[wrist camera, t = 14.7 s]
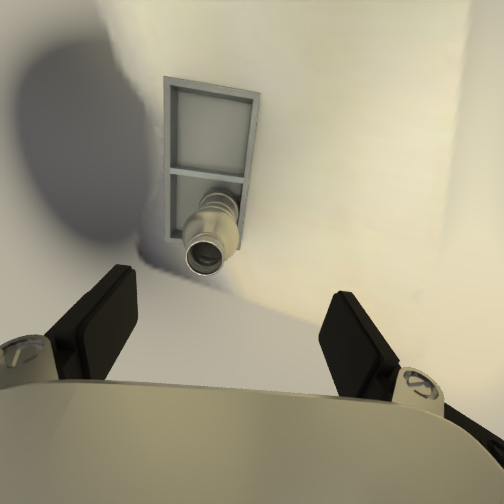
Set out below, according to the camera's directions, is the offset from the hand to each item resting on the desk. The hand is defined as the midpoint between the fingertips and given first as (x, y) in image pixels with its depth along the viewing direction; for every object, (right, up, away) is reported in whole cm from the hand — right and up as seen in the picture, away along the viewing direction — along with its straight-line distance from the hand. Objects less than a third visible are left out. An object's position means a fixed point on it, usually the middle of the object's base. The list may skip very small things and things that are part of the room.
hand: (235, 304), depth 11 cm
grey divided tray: (-6, +15, +28) cm, 32 cm away
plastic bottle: (-5, +10, +29) cm, 31 cm away
